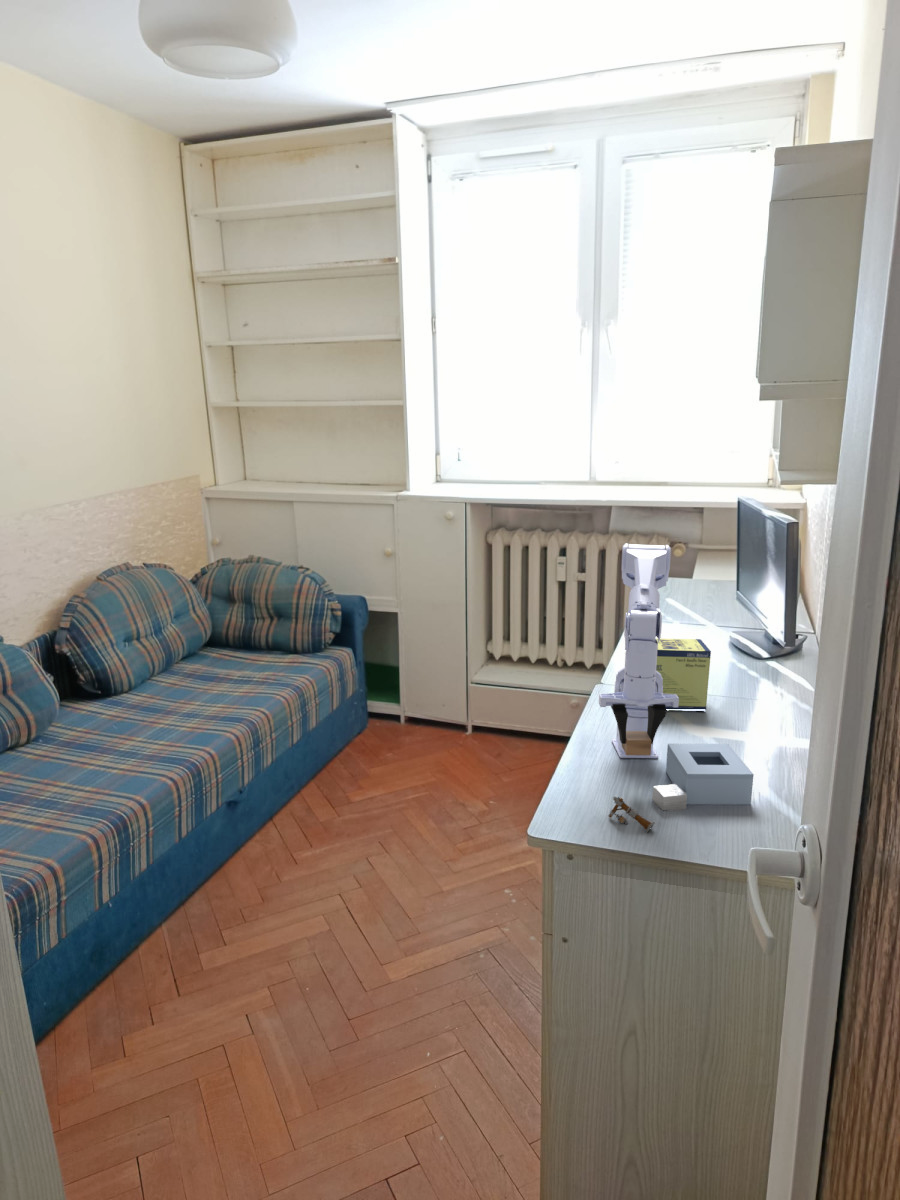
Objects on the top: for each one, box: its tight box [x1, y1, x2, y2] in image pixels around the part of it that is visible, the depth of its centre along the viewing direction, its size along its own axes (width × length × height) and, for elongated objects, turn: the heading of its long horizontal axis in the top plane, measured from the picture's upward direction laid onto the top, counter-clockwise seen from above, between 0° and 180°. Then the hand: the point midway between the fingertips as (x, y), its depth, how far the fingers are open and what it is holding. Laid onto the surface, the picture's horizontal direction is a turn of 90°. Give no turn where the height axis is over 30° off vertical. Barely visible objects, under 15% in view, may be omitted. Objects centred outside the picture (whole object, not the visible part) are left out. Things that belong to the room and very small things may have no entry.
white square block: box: [651, 783, 688, 811], centre depth 149 cm, size 4×4×3 cm
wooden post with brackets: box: [608, 796, 656, 833], centre depth 142 cm, size 2×8×4 cm, turn 52°
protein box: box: [655, 638, 712, 710], centre depth 200 cm, size 10×16×16 cm
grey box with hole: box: [665, 743, 755, 806], centre depth 156 cm, size 14×12×6 cm
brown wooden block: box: [622, 731, 651, 755], centre depth 154 cm, size 4×4×3 cm
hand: (636, 741), depth 154 cm, fingers closed on brown wooden block, 4 cm apart
